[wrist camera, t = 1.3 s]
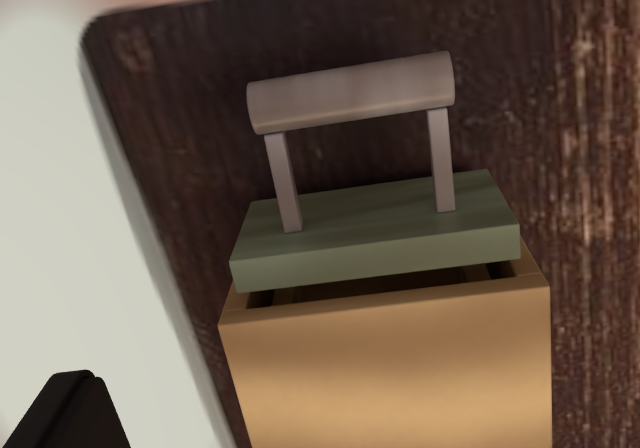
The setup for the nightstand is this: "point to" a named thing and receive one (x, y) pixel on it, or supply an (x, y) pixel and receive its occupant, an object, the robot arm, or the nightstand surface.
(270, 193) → the nightstand surface
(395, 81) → the drawer
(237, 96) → the nightstand surface
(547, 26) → the nightstand surface
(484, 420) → the cabinet
